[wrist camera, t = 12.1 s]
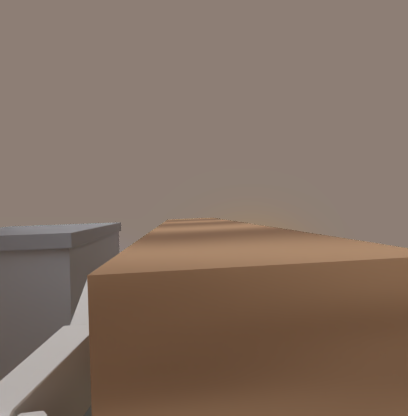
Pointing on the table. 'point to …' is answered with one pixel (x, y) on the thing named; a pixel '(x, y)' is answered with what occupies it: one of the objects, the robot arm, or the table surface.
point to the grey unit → (45, 281)
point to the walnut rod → (249, 324)
